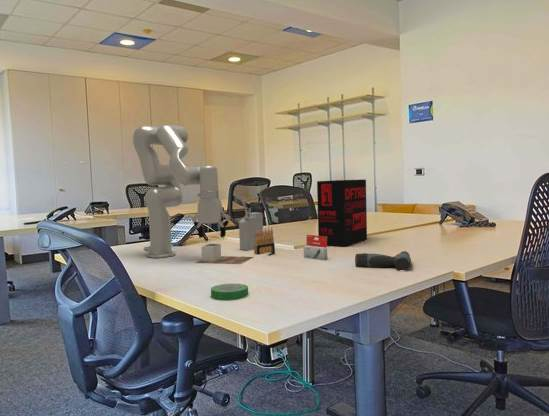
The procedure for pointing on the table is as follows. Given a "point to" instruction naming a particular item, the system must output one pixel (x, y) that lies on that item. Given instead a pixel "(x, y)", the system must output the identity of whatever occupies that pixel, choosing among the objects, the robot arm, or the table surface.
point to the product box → (342, 211)
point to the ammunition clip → (264, 242)
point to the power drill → (383, 260)
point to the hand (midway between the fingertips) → (212, 237)
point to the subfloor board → (228, 260)
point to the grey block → (211, 252)
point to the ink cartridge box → (316, 248)
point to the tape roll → (229, 291)
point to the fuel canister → (249, 228)
